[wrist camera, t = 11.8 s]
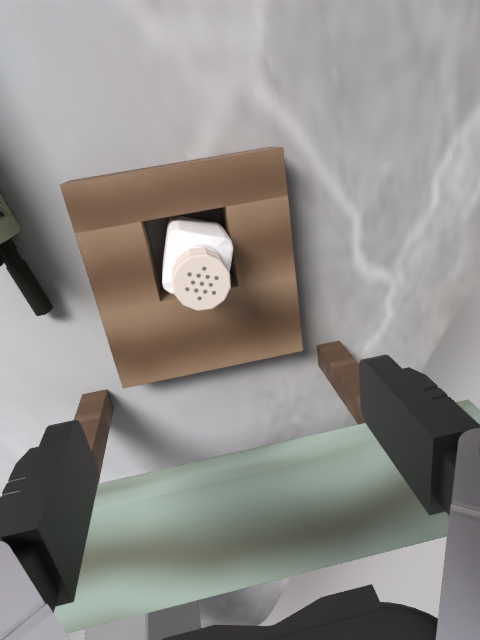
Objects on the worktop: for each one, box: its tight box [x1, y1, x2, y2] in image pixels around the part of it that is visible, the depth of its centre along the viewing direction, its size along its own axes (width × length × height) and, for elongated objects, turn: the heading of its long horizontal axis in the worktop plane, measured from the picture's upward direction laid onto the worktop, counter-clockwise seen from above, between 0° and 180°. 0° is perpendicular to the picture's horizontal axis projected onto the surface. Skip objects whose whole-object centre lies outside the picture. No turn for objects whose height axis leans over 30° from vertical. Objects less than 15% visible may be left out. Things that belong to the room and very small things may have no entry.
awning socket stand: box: [54, 147, 480, 634], centre depth 25 cm, size 19×23×18 cm
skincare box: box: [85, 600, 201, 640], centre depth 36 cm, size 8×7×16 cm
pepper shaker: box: [162, 216, 233, 311], centre depth 27 cm, size 4×4×10 cm
